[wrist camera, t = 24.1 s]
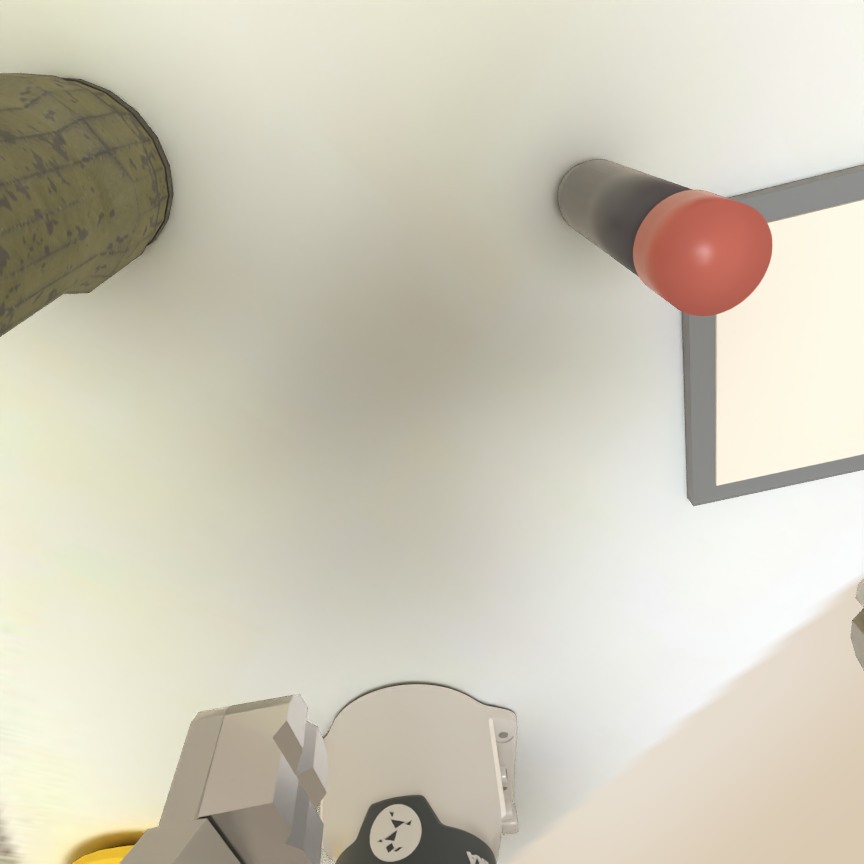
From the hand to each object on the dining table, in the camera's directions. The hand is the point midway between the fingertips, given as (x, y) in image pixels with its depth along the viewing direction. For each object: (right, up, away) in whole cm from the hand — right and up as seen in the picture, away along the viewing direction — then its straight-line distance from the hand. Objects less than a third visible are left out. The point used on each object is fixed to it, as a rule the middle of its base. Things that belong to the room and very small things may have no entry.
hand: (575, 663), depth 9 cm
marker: (+6, +16, +24) cm, 30 cm away
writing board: (+21, +9, +30) cm, 38 cm away
